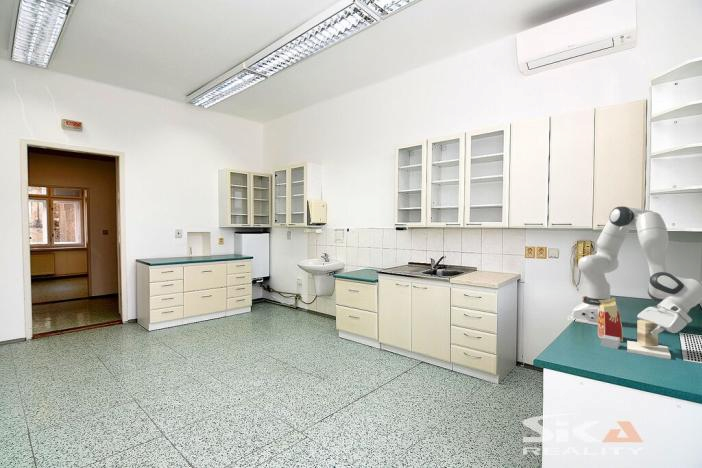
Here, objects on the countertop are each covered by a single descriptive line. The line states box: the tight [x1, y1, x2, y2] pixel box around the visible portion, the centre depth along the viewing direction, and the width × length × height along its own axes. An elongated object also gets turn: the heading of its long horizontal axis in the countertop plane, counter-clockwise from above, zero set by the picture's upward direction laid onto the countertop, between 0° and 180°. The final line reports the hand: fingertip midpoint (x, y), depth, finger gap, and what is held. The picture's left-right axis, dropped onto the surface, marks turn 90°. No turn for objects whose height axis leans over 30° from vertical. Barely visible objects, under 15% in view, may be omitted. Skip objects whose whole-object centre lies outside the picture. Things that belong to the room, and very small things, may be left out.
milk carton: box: [597, 297, 624, 342], centre depth 171 cm, size 9×9×20 cm
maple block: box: [636, 319, 659, 346], centre depth 153 cm, size 5×5×10 cm
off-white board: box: [626, 340, 672, 360], centre depth 153 cm, size 14×14×2 cm
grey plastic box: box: [600, 335, 621, 350], centre depth 160 cm, size 6×6×4 cm
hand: (645, 332), depth 153 cm, fingers closed on maple block, 5 cm apart
